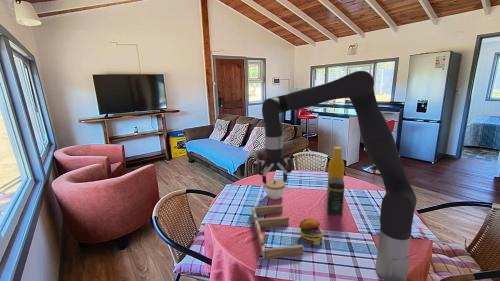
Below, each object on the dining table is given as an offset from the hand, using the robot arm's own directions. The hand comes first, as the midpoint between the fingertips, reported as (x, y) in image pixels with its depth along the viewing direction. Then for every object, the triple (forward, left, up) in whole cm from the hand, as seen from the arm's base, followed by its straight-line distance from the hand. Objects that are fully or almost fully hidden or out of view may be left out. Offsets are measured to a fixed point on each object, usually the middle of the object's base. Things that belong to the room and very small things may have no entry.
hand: (274, 182), depth 102 cm
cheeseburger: (-3, -16, -28) cm, 32 cm away
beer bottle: (+38, -48, -27) cm, 67 cm away
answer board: (+3, -1, -27) cm, 27 cm away
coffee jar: (+16, -37, -28) cm, 49 cm away
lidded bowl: (+38, -9, -28) cm, 48 cm away
